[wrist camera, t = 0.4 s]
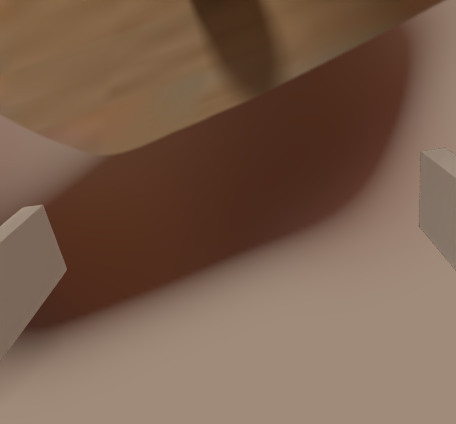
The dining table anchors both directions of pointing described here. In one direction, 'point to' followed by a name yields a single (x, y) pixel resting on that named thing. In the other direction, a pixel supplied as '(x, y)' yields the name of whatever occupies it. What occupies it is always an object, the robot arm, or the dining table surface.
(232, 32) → the dining table surface
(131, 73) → the dining table surface
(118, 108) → the dining table surface
